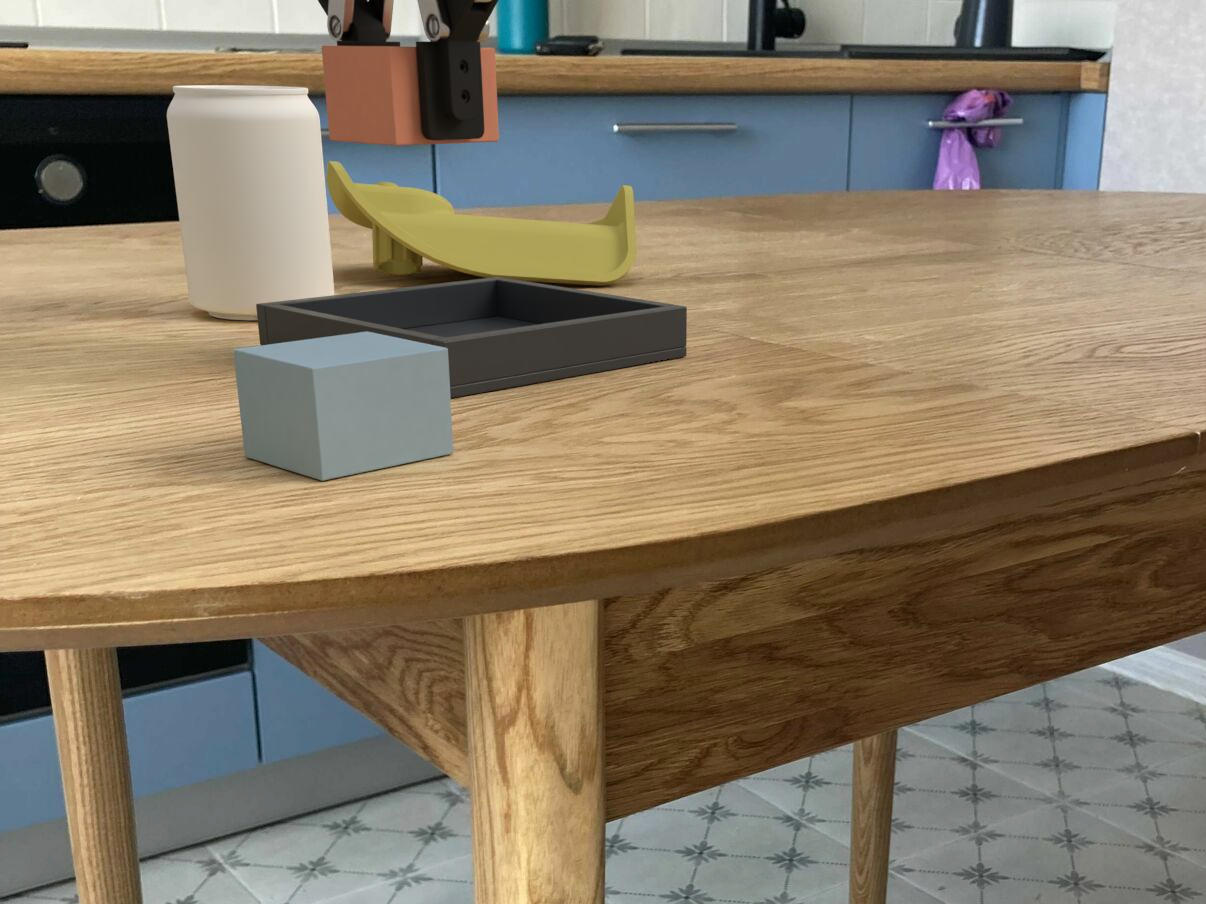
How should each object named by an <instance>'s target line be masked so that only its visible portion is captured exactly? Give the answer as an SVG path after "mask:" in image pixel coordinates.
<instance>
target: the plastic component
mask: <svg viewBox="0 0 1206 904" xmlns="http://www.w3.org/2000/svg"><path fill="white" fill-rule="evenodd" d="M326 164H327V166H326V176H325V177H326V178H325V183H326V185H327V189H328V192H329V193H328V194H329V196H330V199H331V201H332V202H333V204H334V206H335V208H336V209H337V210H338V211H339V213H340V214H341V215H342V216H343V217H344V218H345V219H347V220H348V221H349V222H352V223H353V224H356V225H357V226H360V227H363V228H366V229H370V230H372V231H371V232H372V235H371V236H372V265H373V267H372V269H373V270H374V271H380V272H381V273H382V272H383V273H384V275H387V276H391V275H400V276H401V277H408V276H410V274H415V273H416V274H421V273H422V267H423V266H424V265H423V258H424V259H427V260H428V261H430V262H432V263H435V264H438V265H440V266H443V267H444V268H447V269H450V270H454V271H457V272H460V273H463V274H468V275H472V276H476V277H481V278H493V277H501V278H506V279H507V278H508V279H514V280H520V281H527V282H533V283H548V284H550V283H551V284H567V285H582V286H583V285H584V286H598V287H603V286H609V285H612V284H615V283H617V282H618V281H621V280H622V279H623V278H624V277H625V276H626V275H627V274H628V273H629V272H630V270H631V268H632V266H633V265H634V262H635V260H636V255H637V252H638V251H637V233H636V216H635V200H634V199H635V197H634V189H633V187H632V185H625V184H622V185H620V188H619V190H618V191H617V194H616V195H615V198H614V199H613V202H612V204H611V205H610V208H609V210H608V212H607V213H606V216H604V217H603V218H601V219H599V220H596V221H592V222H569V221H568V222H566V221H556V220H555V221H554V220H553V221H552V220H541V219H527V218H516V217H515V218H514V217H502V216H501V217H500V216H499V217H498V216H487V215H486V216H485V215H474V214H471V215H470V214H459V213H456V210H455V208H454V206H453V205H452V204H451V202H449V201H448V199H446V198H445V197H443V196H442V195H440V194H438V193H435V192H432V191H430V190H428V189H427V190H426V189H422V188H417V187H409V186H399V185H398V184H396V183H395V182H390V181H379V182H376V183H375V184H373V183H360V182H354V181H353V180H352V178H351V177H350V175H349V174H348V172H347V170H346V169H345V167H344V166H343V164H342V163H341V162H340V161H332V160H328V161H327V163H326Z"/></svg>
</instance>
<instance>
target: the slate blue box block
mask: <svg viewBox="0 0 1206 904" xmlns="http://www.w3.org/2000/svg"><path fill="white" fill-rule="evenodd" d="M232 352H233V364H234V370H235V371H234V373H235V380H236V381H235V382H236V390H237V399H238V407H239V416H240V426H241V433H242V435H241V436H242V444H243V452H244V457H245V458H248V459H250V460H255V461H257V462H260V463H263V464H264V463H265V464H267V465H270V466H273V467H277V468H279V469H283V470H286V471H290V472H292V473H296V474H298V475H302V476H306V477H308V478H313V479H314V480H319V481H321V482H323V481H329V480H332V479H334V480H335V479H337V478H343V477H347V476H353V475H356V474H363V473H366V472H371V471H376V470H382V469H386V468H391V467H395V466H401V465H405V464H410V463H414V462H419V461H424V460H425V461H426V460H429V459H433V458H434V459H435V458H439V457H443V456H448V455H452V454H454V437H453V434H454V433H453V418H452V400H451V399H452V398H450V379H449V361H448V349H447V348H445V347H440V346H435V345H430V344H425V343H421V342H416V341H411V340H406V339H401V338H396V337H392V336H387V335H382V334H377V333H372V332H368V331H367V332H359V333H352V334H344V335H337V336H329V337H322V338H314V339H307V340H299V341H292V342H284V343H277V344H269V345H262V346H261V345H256V346H248V347H239V348H234V349H232Z"/></svg>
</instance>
